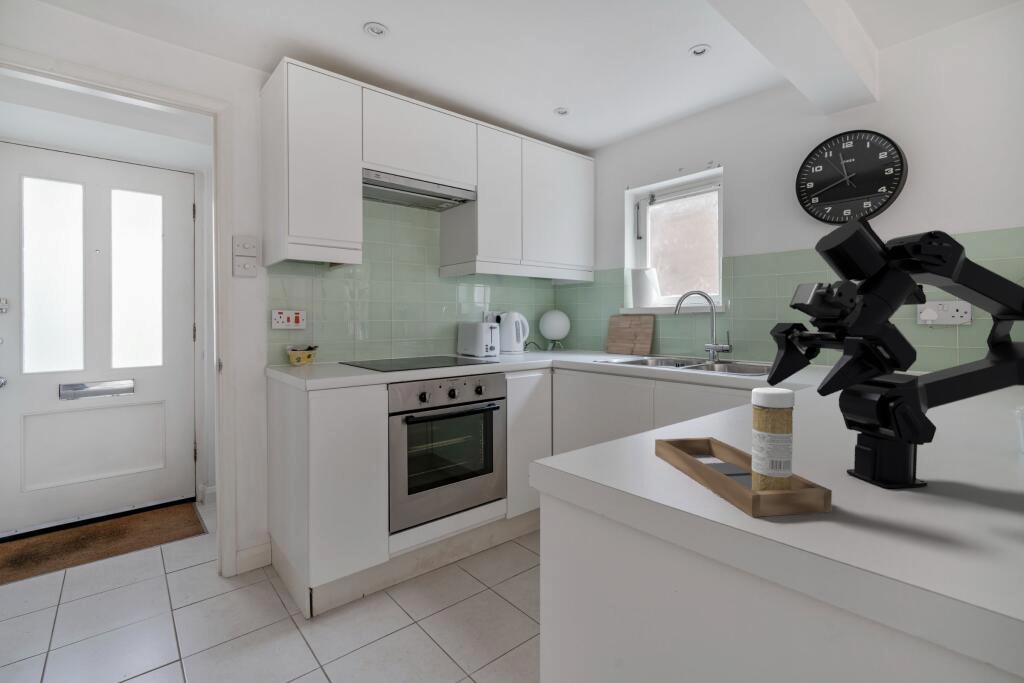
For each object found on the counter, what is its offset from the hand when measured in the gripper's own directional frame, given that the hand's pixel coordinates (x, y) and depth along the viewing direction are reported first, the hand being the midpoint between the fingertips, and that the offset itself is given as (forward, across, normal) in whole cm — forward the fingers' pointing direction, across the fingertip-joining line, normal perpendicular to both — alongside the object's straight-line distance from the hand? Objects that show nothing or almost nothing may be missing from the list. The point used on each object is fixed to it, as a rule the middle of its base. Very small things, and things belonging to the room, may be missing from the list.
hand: (792, 388), depth 63 cm
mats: (+14, -4, +5) cm, 15 cm away
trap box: (+14, -4, +5) cm, 15 cm away
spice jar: (+14, +5, +5) cm, 15 cm away
